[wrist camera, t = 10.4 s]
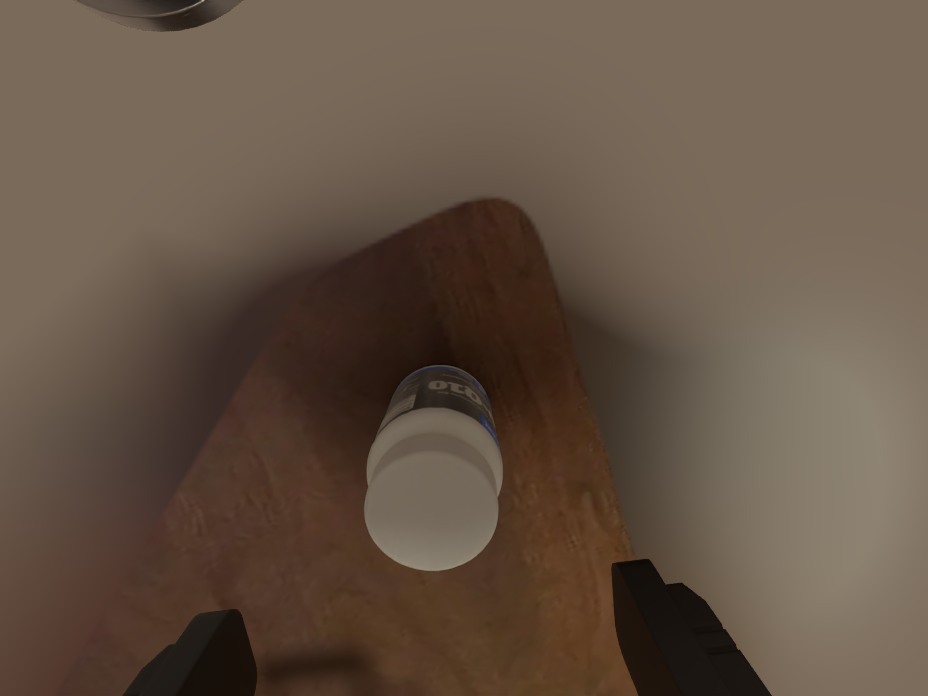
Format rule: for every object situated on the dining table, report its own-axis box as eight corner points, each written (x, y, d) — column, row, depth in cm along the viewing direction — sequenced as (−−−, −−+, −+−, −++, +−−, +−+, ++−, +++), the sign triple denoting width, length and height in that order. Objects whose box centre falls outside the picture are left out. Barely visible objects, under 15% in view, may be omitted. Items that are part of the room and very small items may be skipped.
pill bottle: (511, 404, 21) (546, 504, 13) (447, 475, 22) (444, 611, 14) (432, 341, 21) (418, 407, 12) (369, 417, 21) (317, 526, 13)
